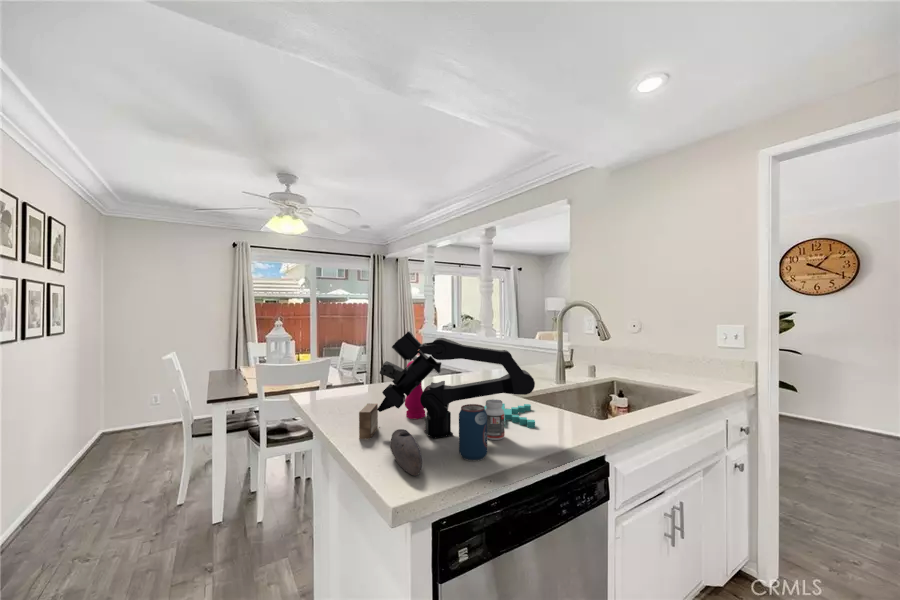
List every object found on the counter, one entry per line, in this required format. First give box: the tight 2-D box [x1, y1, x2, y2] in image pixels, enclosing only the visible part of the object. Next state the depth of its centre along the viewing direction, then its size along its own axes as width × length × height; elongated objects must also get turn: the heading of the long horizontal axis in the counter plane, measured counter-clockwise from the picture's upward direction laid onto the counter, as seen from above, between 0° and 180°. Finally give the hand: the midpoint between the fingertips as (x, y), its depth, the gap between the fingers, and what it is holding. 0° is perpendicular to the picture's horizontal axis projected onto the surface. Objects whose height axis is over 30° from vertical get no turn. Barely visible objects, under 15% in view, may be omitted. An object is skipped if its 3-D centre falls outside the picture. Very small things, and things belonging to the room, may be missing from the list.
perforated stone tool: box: [390, 428, 423, 477], centre depth 87 cm, size 15×5×7 cm, turn 22°
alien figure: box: [483, 402, 536, 429], centre depth 125 cm, size 20×2×20 cm
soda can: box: [458, 403, 488, 462], centre depth 93 cm, size 7×7×12 cm
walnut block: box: [358, 403, 379, 440], centre depth 110 cm, size 3×9×8 cm, turn 177°
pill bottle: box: [485, 398, 506, 441], centre depth 106 cm, size 6×6×10 cm
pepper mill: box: [404, 355, 426, 420], centre depth 126 cm, size 7×7×20 cm
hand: (378, 410), depth 110 cm, fingers closed
